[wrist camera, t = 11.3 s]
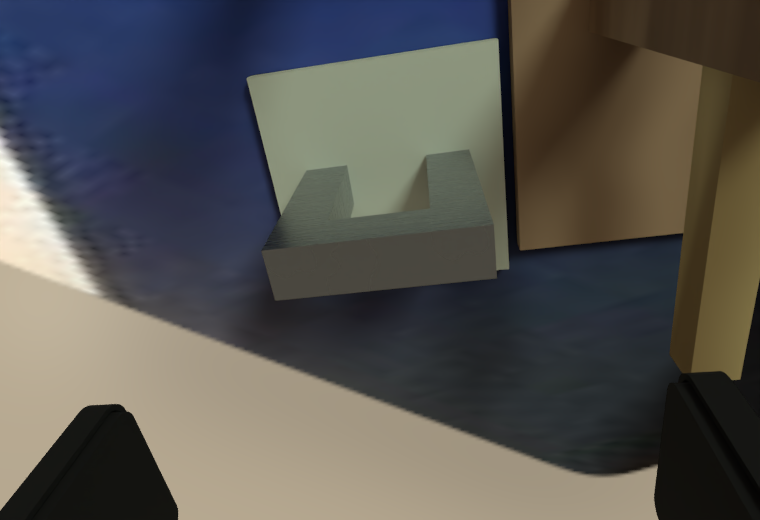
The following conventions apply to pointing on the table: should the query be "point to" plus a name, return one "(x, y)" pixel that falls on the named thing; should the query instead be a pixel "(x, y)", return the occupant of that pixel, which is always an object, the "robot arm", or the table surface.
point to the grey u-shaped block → (381, 236)
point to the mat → (388, 125)
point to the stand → (647, 147)
